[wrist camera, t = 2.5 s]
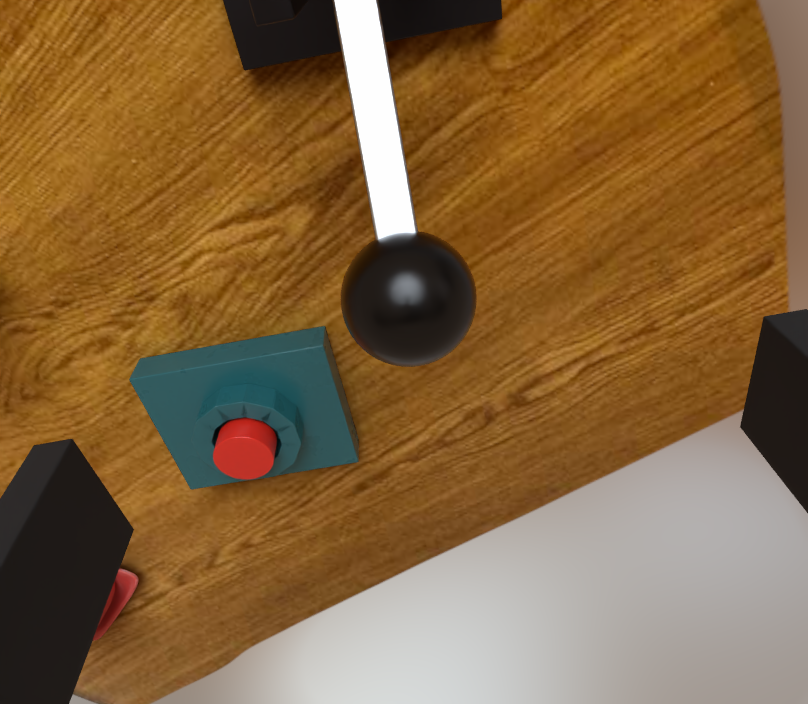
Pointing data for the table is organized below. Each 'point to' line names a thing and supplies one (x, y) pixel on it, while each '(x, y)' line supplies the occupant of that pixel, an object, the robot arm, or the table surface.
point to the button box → (250, 402)
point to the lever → (394, 222)
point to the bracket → (317, 29)
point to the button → (245, 448)
